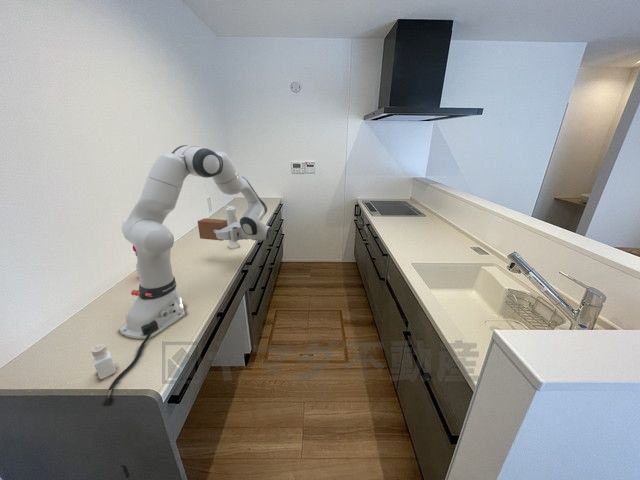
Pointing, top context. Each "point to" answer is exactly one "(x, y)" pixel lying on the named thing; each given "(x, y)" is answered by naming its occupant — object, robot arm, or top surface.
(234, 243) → the white baluster column
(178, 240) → the top surface
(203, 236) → the reddish brown block
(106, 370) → the pepper shaker
